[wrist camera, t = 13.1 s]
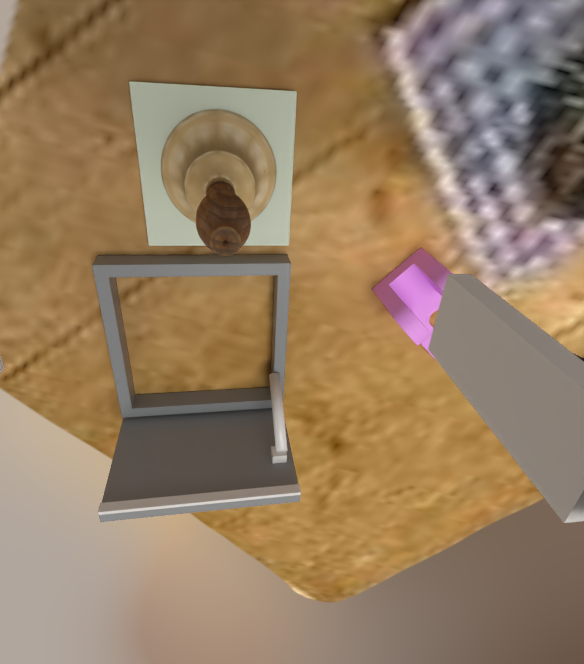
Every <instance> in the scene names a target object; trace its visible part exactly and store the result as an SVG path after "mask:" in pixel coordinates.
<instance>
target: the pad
mask: <svg viewBox="0 0 584 664" xmlns="http://www.w3.org/2000/svg"><path fill="white" fill-rule="evenodd" d="M129 85H130V94H131V102H132V110H133V119H134V127H135V135H136V143H137V152H138V160H139V168H140V176H141V185H142V193H143V201H144V210H145V218H146V226H147V234H148V243H149V246H206V245H205V244H204V243H203V241H202V240H201V239H200V237H199V235H198V232H197V229H196V223H195V222H193V221H191V220H190V219H188V218H187V217H185V216H184V215H183V214H182V213H181V212H180V211H179V210H178V209H177V208H176V207H175V206H174V204H173V203H172V201H171V200H170V198H169V196H168V195H167V192H166V190H165V188H164V185H163V181H162V175H161V156H162V151H163V148H164V145H165V142H166V140H167V138H168V136H169V135H170V133H171V132H172V131H173V129H174V128H175V127H176V126H177V125H178V124H179V123H180V122H181V121H182V120H184V119H185V118H187V117H188V116H190V115H192V114H194V113H198V112H200V111H204V110H215V109H218V110H226V111H231V112H234V113H237V114H239V115H241V116H243V117H245V118H246V119H248V120H249V121H251V122H252V123H253V124H254V125H255V126H256V127H257V128H259V130H260V131H261V132H262V133H263V134H264V136H265V137H266V139H267V140H268V142H269V144H270V146H271V148H272V151H273V153H274V157H275V161H276V171H277V175H276V184H275V189H274V192H273V195H272V197H271V199H270V201H269V203H268V205H267V206H266V208H265V209H264V210H263V211H262V212H261V213H260V214H259V215H258V216H257V217H256V218H255V219H254V220H252V221H251V230H250V234H249V237H248V239H247V241H246V242H245V244H244V245H243V246H289V233H290V214H291V195H292V176H293V157H294V138H295V119H296V100H297V91H285V90H268V89H251V88H234V87H217V86H200V85H183V84H166V83H149V82H132V81H129Z"/></svg>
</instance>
